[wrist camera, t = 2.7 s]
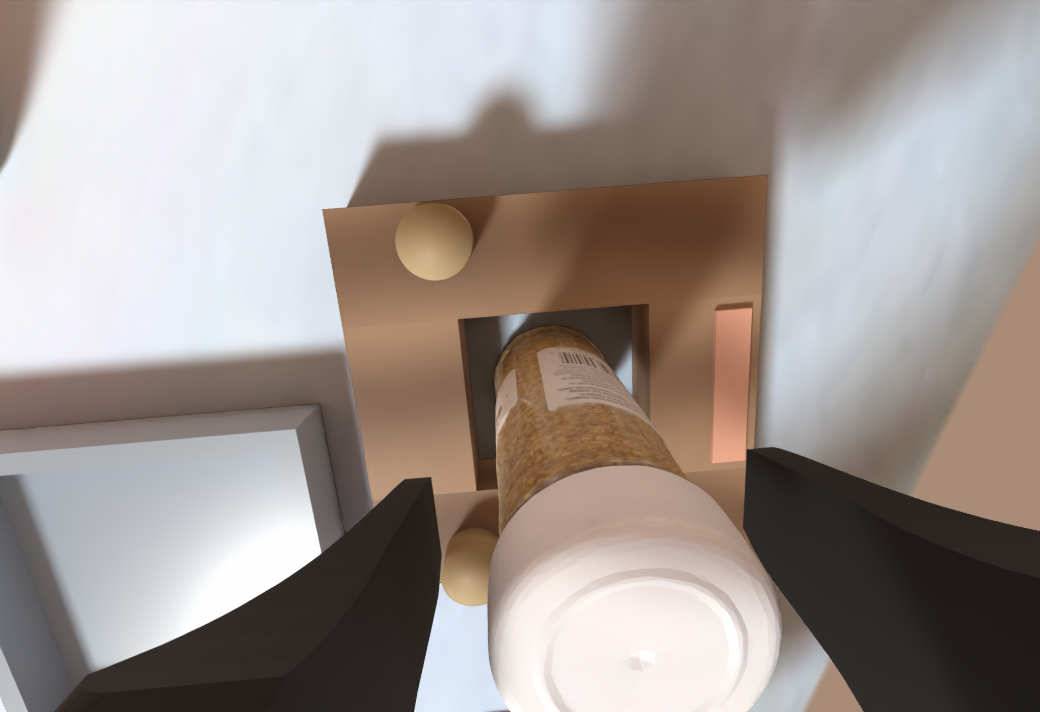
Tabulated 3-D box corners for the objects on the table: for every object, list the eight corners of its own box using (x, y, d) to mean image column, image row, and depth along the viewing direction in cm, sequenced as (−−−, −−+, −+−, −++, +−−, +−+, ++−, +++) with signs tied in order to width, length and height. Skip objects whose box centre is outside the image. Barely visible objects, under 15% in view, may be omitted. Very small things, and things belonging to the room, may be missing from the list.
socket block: (722, 518, 23) (767, 581, 19) (399, 547, 22) (378, 617, 18) (733, 179, 19) (794, 171, 15) (345, 209, 19) (304, 209, 15)
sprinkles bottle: (470, 379, 20) (420, 670, 7) (553, 297, 20) (656, 463, 7) (551, 453, 21) (630, 823, 8) (633, 378, 21) (856, 656, 8)
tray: (371, 677, 24) (358, 729, 22) (75, 705, 24) (28, 760, 21) (319, 403, 20) (295, 429, 18) (-31, 433, 20) (-103, 463, 18)
